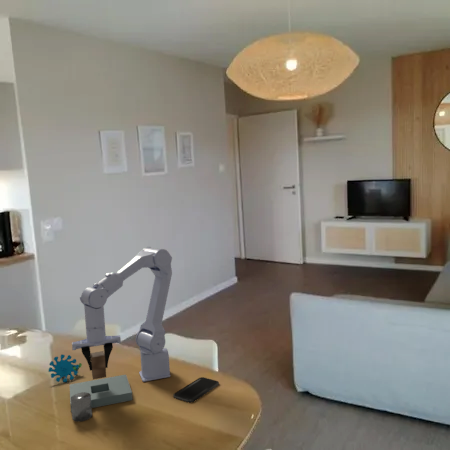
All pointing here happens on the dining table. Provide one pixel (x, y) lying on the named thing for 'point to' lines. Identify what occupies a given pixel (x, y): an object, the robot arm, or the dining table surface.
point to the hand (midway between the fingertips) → (98, 368)
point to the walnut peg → (98, 365)
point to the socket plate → (104, 390)
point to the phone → (196, 389)
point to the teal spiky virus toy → (64, 368)
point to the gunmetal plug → (81, 406)
